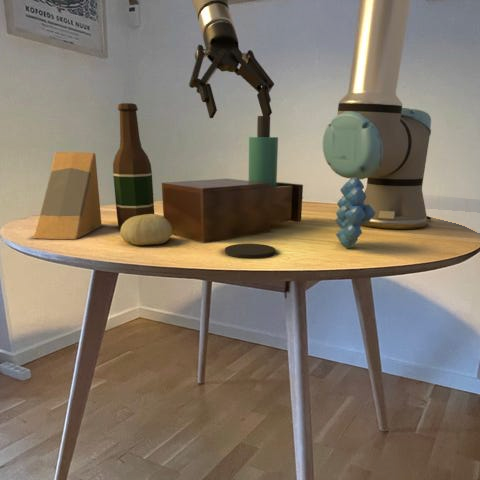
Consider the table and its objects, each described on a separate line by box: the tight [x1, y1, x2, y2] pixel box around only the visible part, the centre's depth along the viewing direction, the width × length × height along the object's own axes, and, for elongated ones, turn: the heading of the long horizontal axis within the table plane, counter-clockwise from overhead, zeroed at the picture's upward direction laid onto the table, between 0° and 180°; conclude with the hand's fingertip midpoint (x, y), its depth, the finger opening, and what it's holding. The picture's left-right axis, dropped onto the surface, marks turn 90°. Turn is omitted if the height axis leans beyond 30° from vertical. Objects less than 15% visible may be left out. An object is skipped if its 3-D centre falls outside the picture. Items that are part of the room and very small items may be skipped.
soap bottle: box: [248, 115, 279, 187], centre depth 98 cm, size 6×6×20 cm
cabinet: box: [161, 178, 270, 243], centre depth 94 cm, size 17×14×10 cm
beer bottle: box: [112, 102, 155, 229], centre depth 95 cm, size 8×8×24 cm
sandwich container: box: [33, 151, 102, 240], centre depth 92 cm, size 9×15×15 cm, turn 177°
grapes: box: [335, 177, 375, 249], centre depth 79 cm, size 12×7×12 cm, turn 178°
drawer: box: [269, 181, 304, 225], centre depth 101 cm, size 20×12×8 cm, turn 131°
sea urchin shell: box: [119, 213, 173, 246], centre depth 85 cm, size 9×8×8 cm
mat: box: [224, 243, 276, 259], centre depth 78 cm, size 8×8×1 cm
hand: (241, 115), depth 103 cm, fingers open, 13 cm apart
